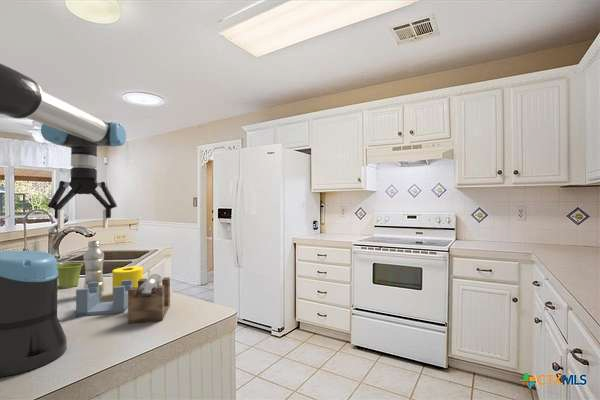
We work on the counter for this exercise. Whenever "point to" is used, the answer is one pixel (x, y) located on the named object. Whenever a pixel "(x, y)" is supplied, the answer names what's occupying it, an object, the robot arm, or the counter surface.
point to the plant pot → (69, 274)
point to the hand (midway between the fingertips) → (83, 228)
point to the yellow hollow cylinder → (127, 275)
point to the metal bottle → (94, 265)
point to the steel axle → (149, 285)
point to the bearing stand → (149, 303)
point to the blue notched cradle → (90, 302)
